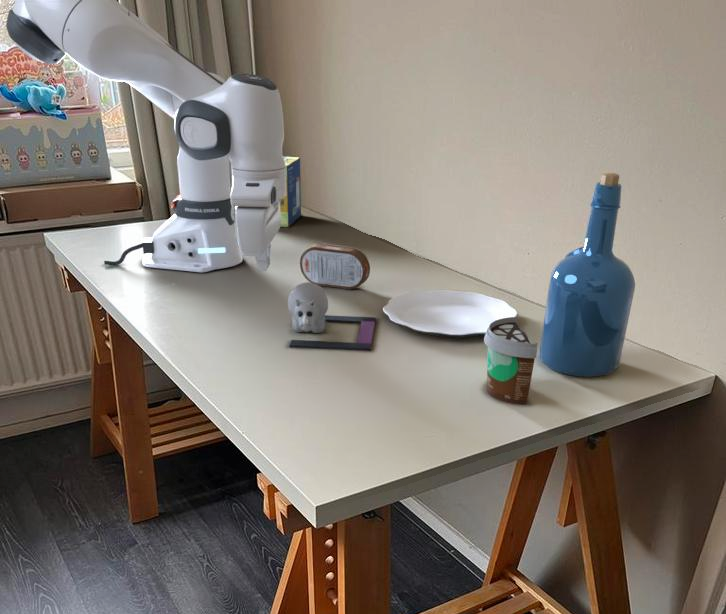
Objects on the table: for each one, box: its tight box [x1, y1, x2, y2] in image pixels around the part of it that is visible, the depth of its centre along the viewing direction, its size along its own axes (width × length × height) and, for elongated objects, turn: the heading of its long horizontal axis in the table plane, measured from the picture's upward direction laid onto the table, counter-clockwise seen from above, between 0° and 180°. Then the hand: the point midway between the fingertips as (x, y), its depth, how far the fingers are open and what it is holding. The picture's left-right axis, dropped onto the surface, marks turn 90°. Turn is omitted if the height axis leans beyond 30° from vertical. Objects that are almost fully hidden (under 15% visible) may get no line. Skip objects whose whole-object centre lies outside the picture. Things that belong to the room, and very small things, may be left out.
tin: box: [299, 242, 371, 290], centre depth 162 cm, size 15×3×8 cm, turn 71°
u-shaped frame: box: [289, 314, 377, 352], centre depth 141 cm, size 14×16×1 cm
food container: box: [483, 316, 538, 405], centre depth 117 cm, size 12×6×10 cm, turn 5°
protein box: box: [279, 155, 302, 228], centre depth 211 cm, size 10×15×16 cm
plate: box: [382, 289, 519, 338], centre depth 147 cm, size 25×25×2 cm
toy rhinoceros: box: [287, 282, 329, 334], centre depth 138 cm, size 7×12×8 cm, turn 178°
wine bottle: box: [539, 172, 636, 378], centre depth 122 cm, size 14×13×30 cm
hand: (263, 268), depth 136 cm, fingers closed
